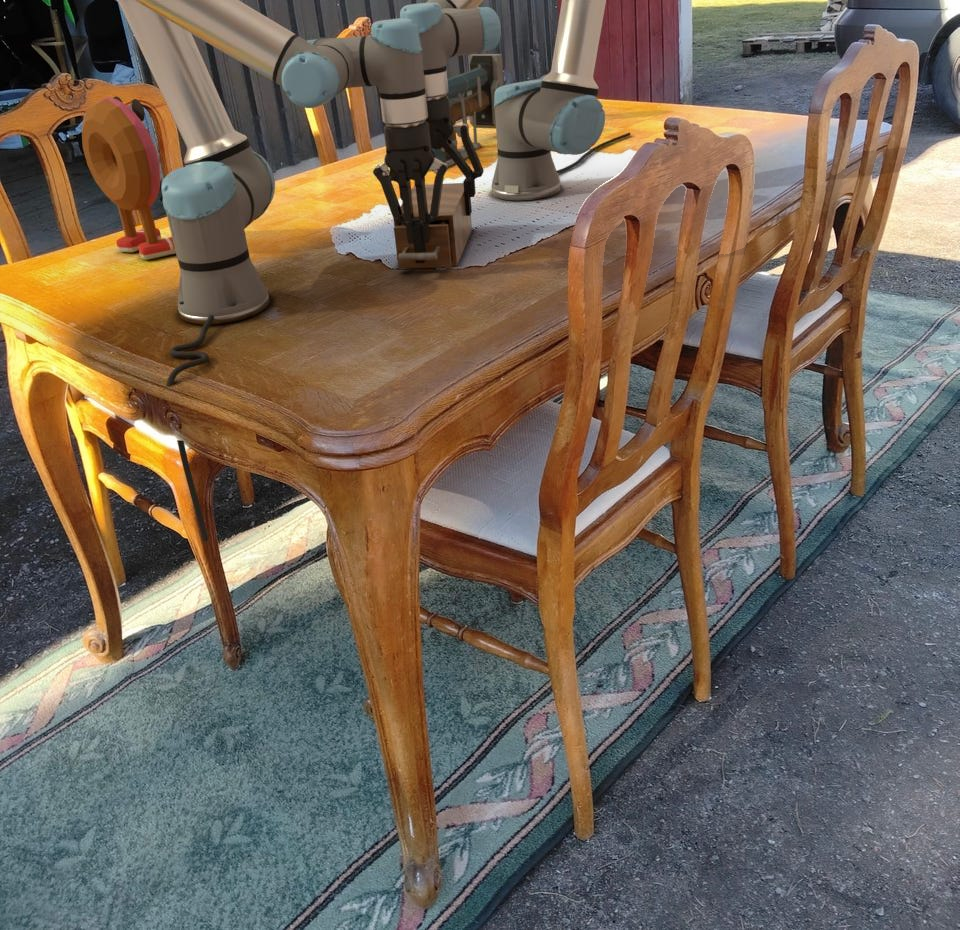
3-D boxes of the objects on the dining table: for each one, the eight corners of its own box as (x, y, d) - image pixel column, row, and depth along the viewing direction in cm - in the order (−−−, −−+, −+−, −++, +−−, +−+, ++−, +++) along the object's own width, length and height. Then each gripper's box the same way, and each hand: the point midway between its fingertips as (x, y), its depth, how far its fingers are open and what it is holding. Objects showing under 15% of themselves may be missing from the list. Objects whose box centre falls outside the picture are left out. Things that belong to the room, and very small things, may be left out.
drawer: (446, 277, 169) (442, 235, 165) (393, 278, 170) (387, 236, 167) (465, 232, 190) (462, 193, 187) (418, 233, 192) (413, 195, 188)
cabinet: (457, 265, 177) (452, 215, 172) (399, 267, 178) (393, 217, 173) (472, 229, 195) (468, 182, 190) (419, 231, 196) (414, 184, 191)
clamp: (441, 170, 238) (433, 78, 227) (411, 168, 242) (401, 78, 231) (506, 137, 263) (501, 53, 253) (478, 136, 267) (472, 53, 257)
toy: (201, 251, 195) (166, 95, 180) (157, 266, 189) (116, 105, 173) (147, 235, 208) (109, 88, 193) (104, 248, 202) (61, 97, 187)
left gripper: (448, 115, 161) (460, 252, 173) (372, 119, 163) (389, 254, 175) (441, 125, 155) (454, 266, 167) (362, 129, 157) (380, 269, 169)
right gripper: (493, 89, 179) (500, 207, 190) (371, 96, 183) (385, 211, 194) (488, 97, 173) (496, 218, 184) (362, 104, 176) (377, 222, 187)
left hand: (421, 260), depth 171 cm, fingers closed
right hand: (439, 214), depth 189 cm, fingers closed on cabinet, 11 cm apart
